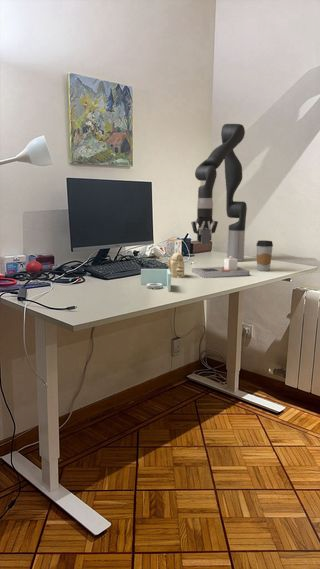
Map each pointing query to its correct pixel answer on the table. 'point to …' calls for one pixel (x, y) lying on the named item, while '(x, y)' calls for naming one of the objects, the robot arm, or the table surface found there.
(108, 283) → the table surface
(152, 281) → the l-shaped corner panel
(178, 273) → the robot
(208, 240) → the grey plug
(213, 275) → the socket plate
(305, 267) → the table surface
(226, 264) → the white plug
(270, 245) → the coffee cup
